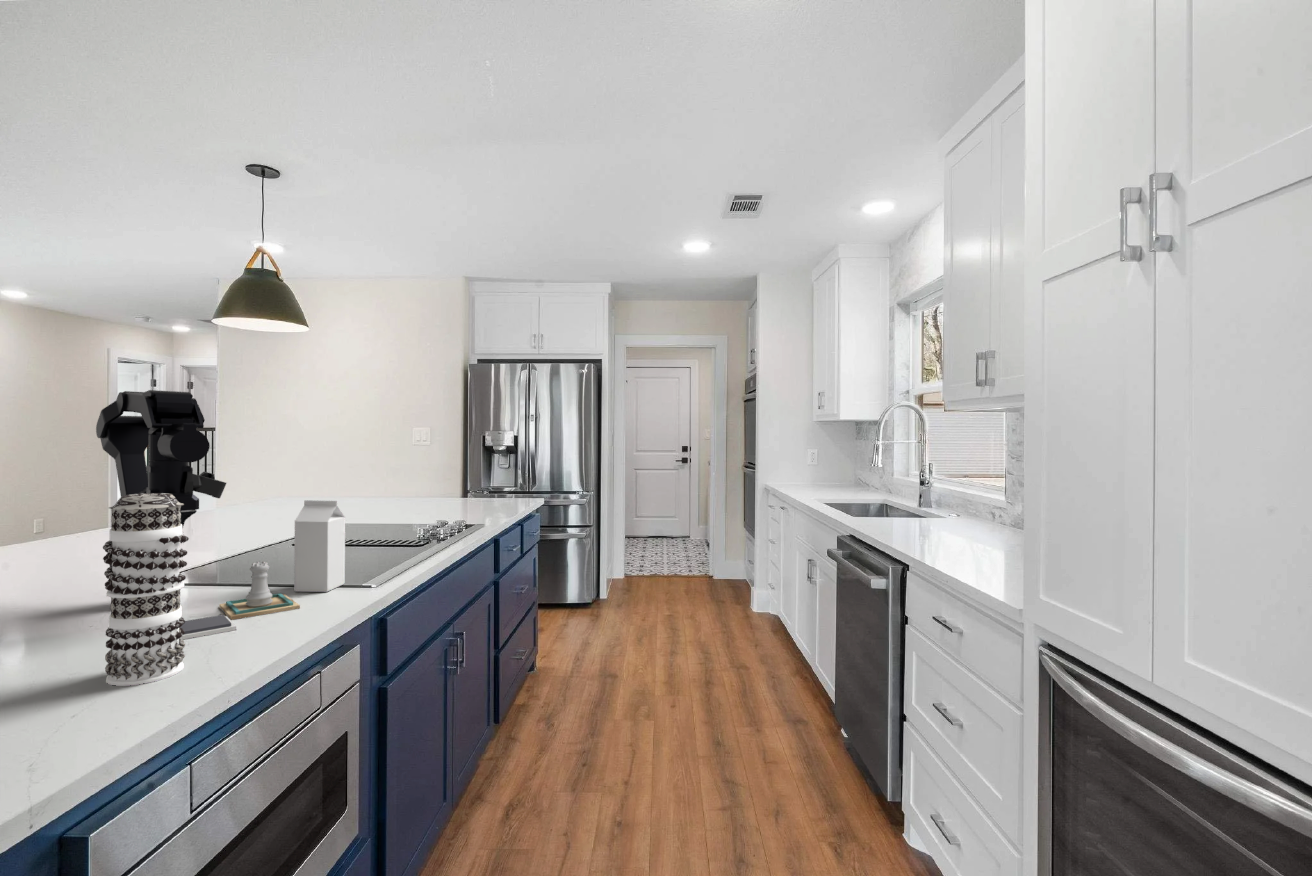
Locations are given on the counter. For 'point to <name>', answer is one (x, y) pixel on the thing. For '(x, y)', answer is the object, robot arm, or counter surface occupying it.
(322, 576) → the milk carton
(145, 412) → the robot arm
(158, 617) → the decorative candle
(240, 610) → the print board
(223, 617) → the ink pad
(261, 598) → the rook chess piece
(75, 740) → the counter surface
